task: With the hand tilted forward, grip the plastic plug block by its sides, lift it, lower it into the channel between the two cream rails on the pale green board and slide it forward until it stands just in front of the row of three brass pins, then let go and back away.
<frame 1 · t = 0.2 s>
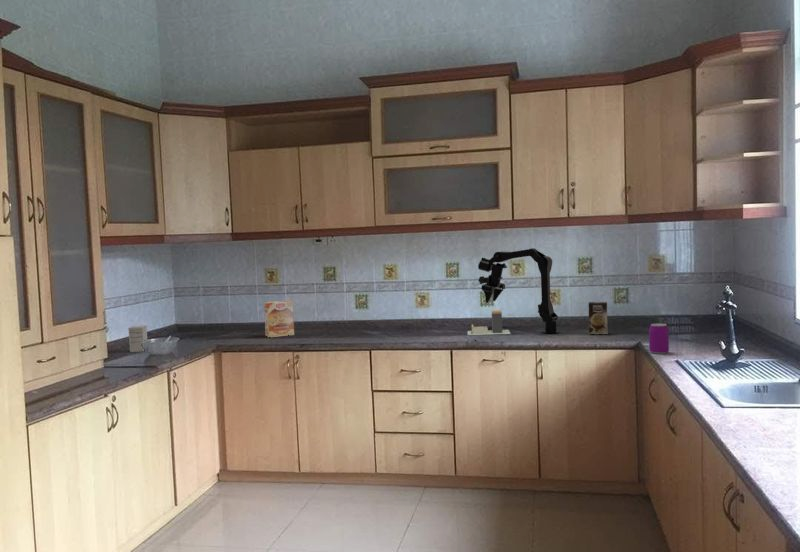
hand: (490, 301, 376), 16 cm above the worktop, tool tilted 15°, fingers open, 9 cm apart
coffeecake box: (280, 336, 390), on the worktop
beverage can: (659, 353, 293), on the worktop
supplement box: (139, 350, 358), on the worktop
plug: (497, 332, 362), point 1 cm above the worktop, touching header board
coffee box: (598, 334, 349), on the worktop
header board: (488, 334, 362), on the worktop
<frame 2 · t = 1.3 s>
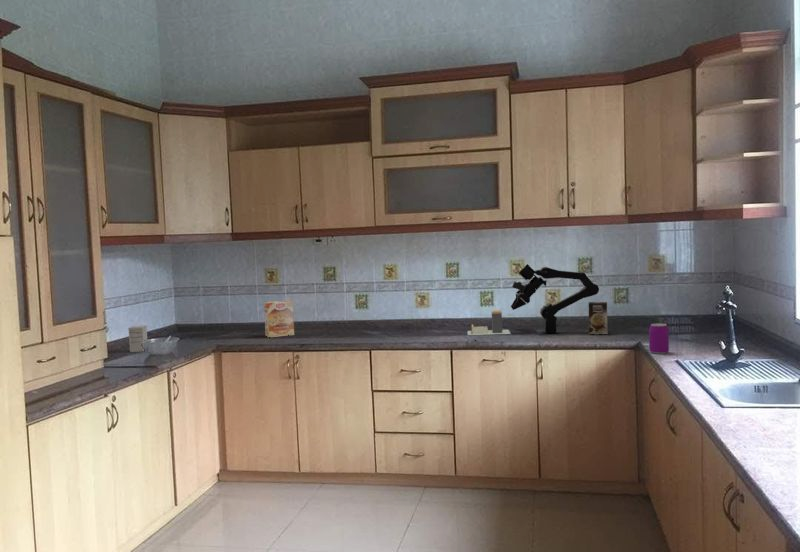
hand: (511, 308, 360), 13 cm above the worktop, tool tilted 45°, fingers open, 9 cm apart
nothing on the worktop moved.
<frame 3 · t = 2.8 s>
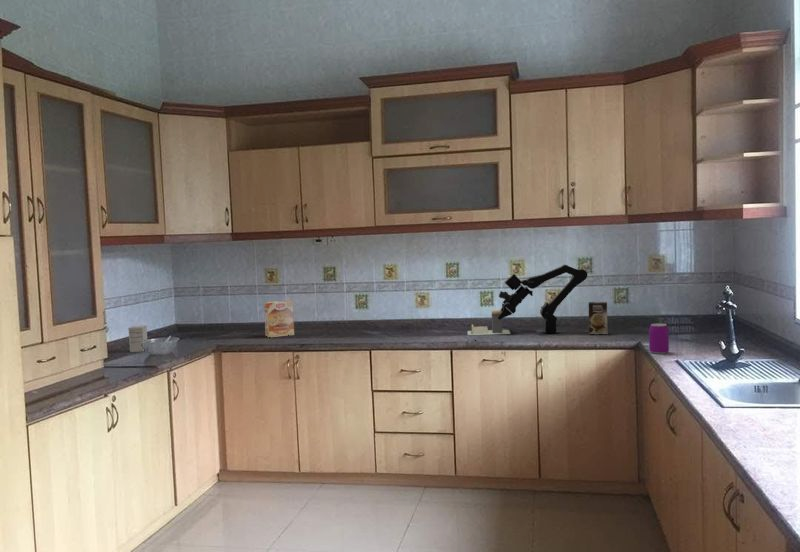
hand: (497, 317, 361), 9 cm above the worktop, tool tilted 45°, fingers open, 9 cm apart
nothing on the worktop moved.
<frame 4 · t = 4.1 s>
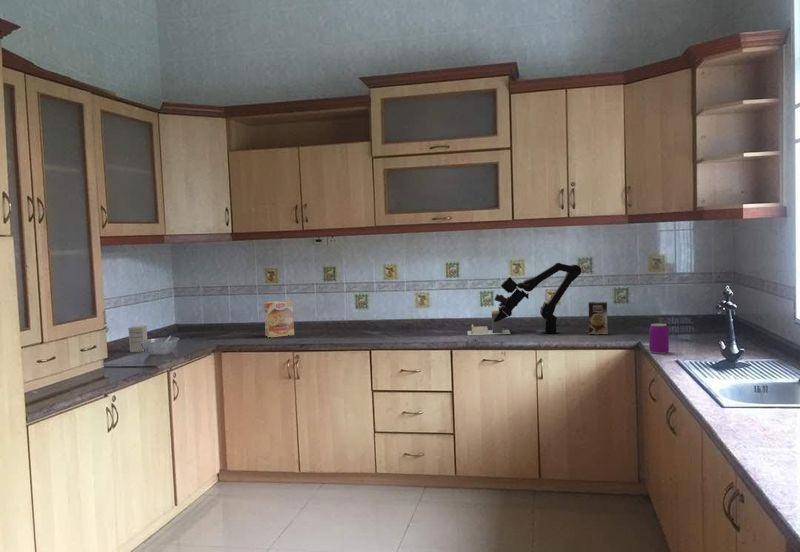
hand: (494, 321, 361), 7 cm above the worktop, tool tilted 45°, fingers closed on plug, 4 cm apart
plug: (497, 332, 362), point 1 cm above the worktop, touching gripper, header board
everything else where it was.
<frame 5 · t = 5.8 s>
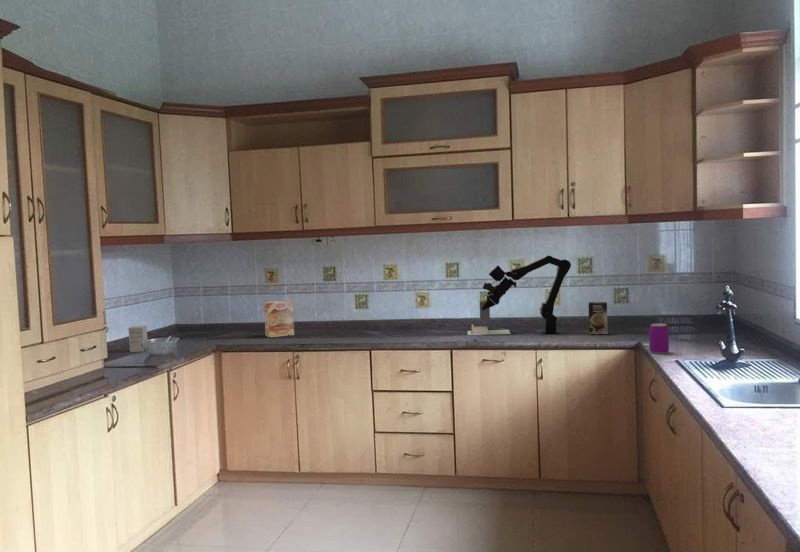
hand: (481, 309, 362), 13 cm above the worktop, tool tilted 45°, fingers closed on plug, 4 cm apart
plug: (484, 320, 362), point 8 cm above the worktop, touching gripper
everything else where it was.
when the fingers open (8 cm above the worktop, at t = 7.7 s): plug stays where it is, resting on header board.
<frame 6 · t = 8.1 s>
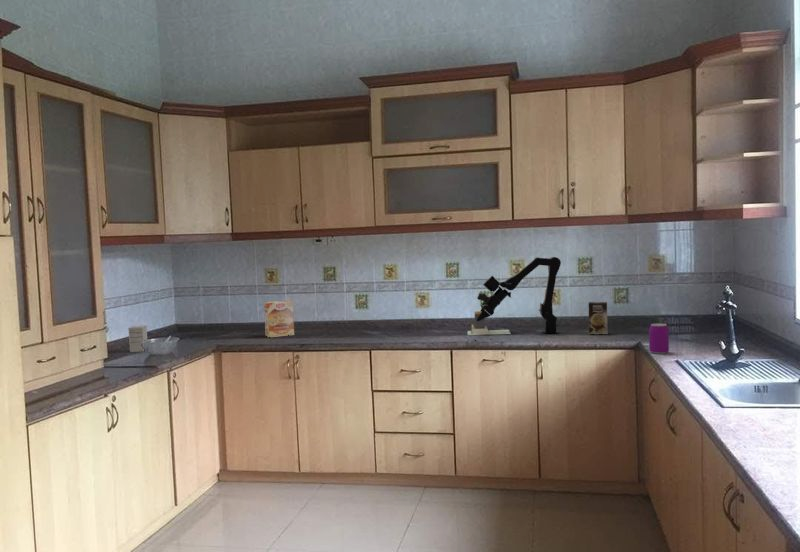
hand: (476, 319, 362), 8 cm above the worktop, tool tilted 45°, fingers open, 9 cm apart
plug: (480, 332, 362), point 1 cm above the worktop, touching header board
everything else where it was.
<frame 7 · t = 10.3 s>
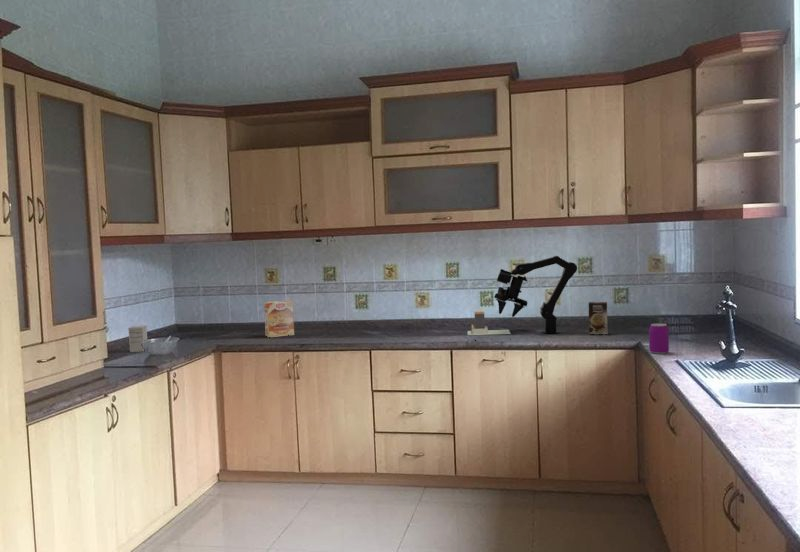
hand: (506, 315, 361), 10 cm above the worktop, tool tilted 20°, fingers open, 9 cm apart
nothing on the worktop moved.
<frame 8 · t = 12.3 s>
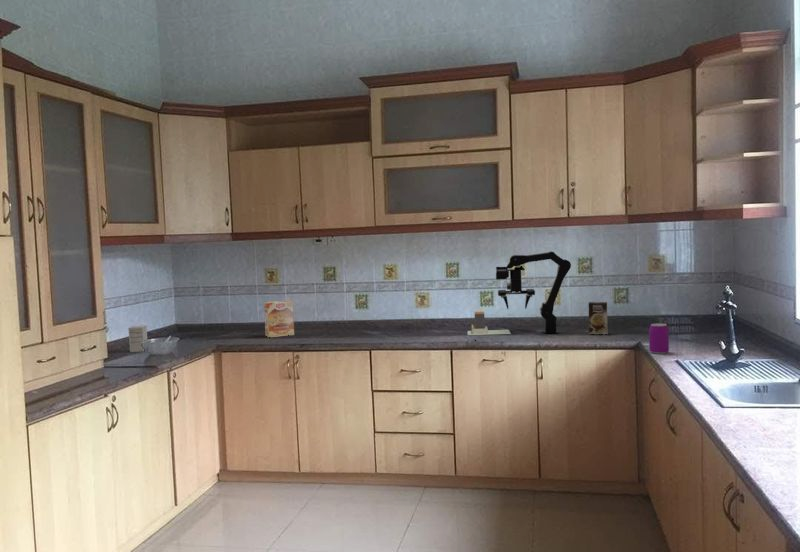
hand: (516, 308, 361), 13 cm above the worktop, tool pointing down, fingers open, 9 cm apart
nothing on the worktop moved.
at the end: plug 0.1 cm from the target spot on the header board, point 1.2 cm above the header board's base; plug tilted 0°; the gripper is holding nothing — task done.
